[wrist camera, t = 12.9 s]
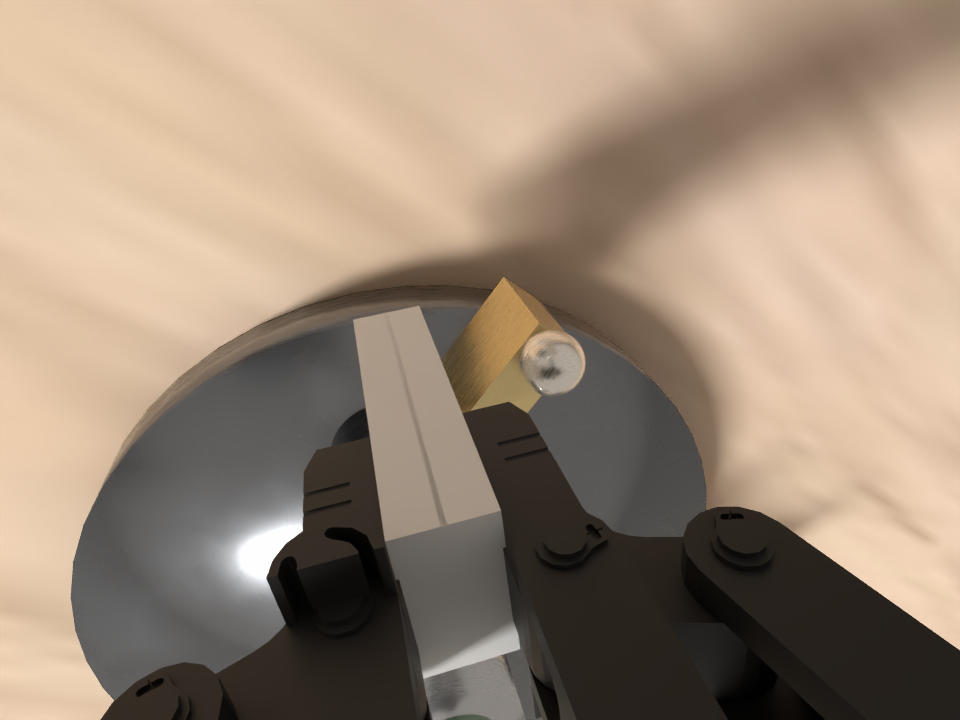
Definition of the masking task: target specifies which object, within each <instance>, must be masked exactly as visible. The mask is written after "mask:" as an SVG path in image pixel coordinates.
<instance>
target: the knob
mask: <svg viewBox="0 0 960 720" xmlns="http://www.w3.org/2000/svg"><path fill="white" fill-rule="evenodd" d="M441 362H442V364H443V367H444V369H445V372H446V374H447V377H448V379H449V382H450V384H451V387H452V389H453V392H454V394H455V397H456V399H457V402H458V404H459V407H460V409H461V412H462V413H464V412H468V411H472V410H476V409H480V408H484V407H489V406H493V405H497V404H501V403H505V402H511V403H512V404H514V405H515V406H517V407H518V408H520V409H522V410H523V411H525V412H526V413H528V411H529V410H530V409H531V408H532V407H533V405H534V404H535V403H536V402H537V401H538V399H539V398H540V397H541V396H542V395H543V396H549V397H554V396H561V395H564V394H566V393H568V392H570V391H571V390H573V389H574V388H575V387H576V386H577V385H578V384H579V382H580V381H581V379H582V377H583V375H584V372H585V366H586V361H585V355H584V352H583V349H582V347H581V346H580V344H579V343H578V341H577V340H576V339H575V338H573V337H572V336H571V335H569V334H567V333H566V332H565V331H564V330H563V329H562V328H561V326H560V325H559V324H558V323H557V322H556V320H555V319H554V318H553V317H552V316H551V314H550V313H549V312H548V311H547V310H546V309H545V307H544V306H543V305H542V304H541V303H540V301H539V300H537V299H536V298H534V297H533V296H531V295H530V294H528V293H527V292H525V291H524V290H522V289H521V288H519V287H518V286H516V285H515V284H513V283H512V282H511V281H509V280H508V279H506V278H505V277H503V278H502V280H501V281H500V282H499V284H498V285H497V286H496V288H495V289H494V290H493V292H492V293H491V294H490V296H489V297H488V298H487V300H486V301H485V302H484V304H483V305H482V306H481V308H480V309H479V310H478V312H477V313H476V314H475V316H474V317H473V318H472V320H471V321H470V322H469V324H468V325H467V326H466V328H465V329H464V330H463V332H462V333H461V334H460V336H459V337H458V338H457V340H456V341H455V342H454V344H453V345H452V346H451V348H450V349H449V350H448V352H447V353H446V354H445V356H444V357H443V358H442V360H441ZM368 437H370V434H369V427H368V420H367V413H366V408H364V409H361V410H360V411H358V412H356V413H355V414H353V415H352V416H350V417H349V418H348V419H347V420H346V421H345V422H344V423H343V424H342V425H341V426H340V428H339V429H338V431H337V432H336V434H335V436H334V439H333V442H332V445H331V446H335V445H339V444H343V443H347V442H352V441H356V440H360V439H364V438H368Z"/></svg>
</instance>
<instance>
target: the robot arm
mask: <svg viewBox="0 0 960 720" xmlns="http://www.w3.org/2000/svg"><path fill="white" fill-rule="evenodd" d="M353 322H354V329H355V336H356V343H357V350H358V357H359V364H360V371H361V378H362V385H363V392H364V399H365V406H366V413H367V420H368V427H369V434H370V437H368V438H364V439H360V440H356V441H352V442H347V443H343V444H339V445H335V446H331V447H327V448H323V449H318V450H316V451H315V453H314V455H313V457H312V458H311V460H310V462H309V463H308V465H307V467H306V469H305V470H304V482H303V494H304V498H303V514H304V517H303V531H302V532H300V533H299V534H298V535H296V536H295V537H293V538H292V539H291V540H289V541H288V542H287V543H285V544H284V546H283V547H282V548H281V549H280V551H279V552H278V553H277V555H276V556H275V557H274V558H273V560H272V562H271V565H270V568H269V571H268V574H267V577H266V579H267V582H268V584H269V586H270V589H271V591H272V593H273V596H274V598H275V600H276V602H277V605H278V607H279V609H280V612H281V614H282V616H283V619H284V621H285V623H286V624H285V625H284V627H283V628H282V629H281V630H280V631H279V632H278V633H277V634H276V635H275V636H274V637H273V638H272V639H271V640H270V641H268V642H267V643H265V644H264V645H263V646H261V647H260V648H258V649H257V650H255V651H254V652H252V653H251V654H249V655H247V656H246V657H244V658H242V659H240V660H239V661H237V662H235V663H234V664H232V665H230V666H228V667H227V668H225V669H223V670H221V671H220V672H218V673H216V674H215V673H214V672H213V671H211V670H210V669H209V668H207V667H206V666H205V665H203V664H195V663H187V662H183V663H179V664H175V665H171V666H167V667H163V668H160V669H158V670H156V671H154V672H152V673H151V674H149V675H147V676H145V677H143V678H142V679H140V680H138V681H136V682H135V683H134V684H133V685H132V686H131V687H129V688H128V689H127V690H126V691H125V692H124V693H123V694H122V695H120V696H119V697H118V698H117V699H116V700H115V701H114V702H113V703H112V704H111V706H110V707H109V709H108V710H107V711H106V713H105V714H104V716H103V717H102V719H101V720H433V718H432V715H431V711H430V707H429V704H428V700H427V696H426V691H425V685H424V678H428V677H431V676H434V675H437V674H441V673H444V672H447V671H450V670H454V669H457V668H460V667H463V666H467V665H471V664H474V663H477V662H480V661H484V660H487V659H490V658H493V657H497V656H500V655H503V654H506V653H510V652H513V651H516V650H519V649H520V644H519V638H520V641H521V644H522V647H523V650H524V653H525V656H526V659H527V662H528V664H529V670H530V678H531V686H532V693H533V701H534V709H535V717H536V719H537V718H540V717H542V719H543V720H960V650H958V649H957V648H956V647H954V646H953V645H951V644H950V643H949V642H947V641H946V640H944V639H943V638H941V637H940V636H939V635H937V634H936V633H934V632H933V631H932V630H930V629H929V628H927V627H926V626H925V625H923V624H922V623H920V622H919V621H918V620H916V619H915V618H913V617H912V616H911V615H909V614H908V613H906V612H905V611H903V610H902V609H901V608H899V607H898V606H896V605H895V604H894V603H892V602H891V601H889V600H888V599H887V598H885V597H884V596H882V595H881V594H880V593H878V592H877V591H875V590H874V589H872V588H871V587H870V586H868V585H867V584H865V583H864V582H863V581H861V580H860V579H858V578H857V577H856V576H854V575H853V574H851V573H850V572H849V571H847V570H846V569H844V568H843V567H841V566H840V565H839V564H837V563H836V562H834V561H833V560H832V559H830V558H829V557H827V556H826V555H825V554H823V553H822V552H820V551H819V550H818V549H816V548H815V547H813V546H812V545H811V544H809V543H808V542H806V541H805V540H803V539H802V538H801V537H799V536H798V535H796V534H795V533H794V532H792V531H791V530H789V529H788V528H787V527H785V526H784V525H782V524H781V523H779V522H778V521H776V520H774V519H772V518H770V517H768V516H766V515H764V514H762V513H761V512H757V511H753V510H749V509H745V508H741V507H716V508H713V509H710V510H707V511H704V512H700V513H699V514H698V515H697V516H695V517H694V518H693V519H692V520H691V521H690V522H689V523H688V524H687V527H686V530H685V533H684V536H683V537H639V536H629V535H625V534H621V533H618V532H614V531H612V530H611V529H610V528H609V527H608V526H607V525H606V524H605V522H604V521H603V520H601V519H599V518H597V517H595V516H593V515H591V514H589V513H587V512H586V511H585V510H584V508H583V507H582V505H581V504H580V502H579V500H578V498H577V497H576V495H575V493H574V492H573V490H572V488H571V486H570V485H569V483H568V481H567V479H566V478H565V476H564V474H563V472H562V471H561V469H560V467H559V466H558V464H557V462H556V460H555V459H554V457H553V455H552V453H551V452H550V451H549V450H548V446H547V445H546V443H545V441H544V439H543V438H542V436H540V433H539V431H538V429H537V427H536V426H535V424H534V422H533V420H532V419H531V417H530V415H529V414H528V413H526V412H525V411H523V410H522V409H520V408H518V407H517V406H515V405H514V404H512V403H511V402H505V403H501V404H497V405H493V406H489V407H484V408H480V409H476V410H472V411H468V412H464V413H462V412H461V409H460V407H459V404H458V402H457V399H456V397H455V394H454V392H453V389H452V387H451V384H450V382H449V379H448V377H447V374H446V372H445V369H444V367H443V364H442V362H441V359H440V357H439V354H438V352H437V349H436V347H435V344H434V342H433V339H432V337H431V334H430V332H429V329H428V327H427V324H426V322H425V319H424V317H423V314H422V312H421V309H420V307H419V306H415V307H411V308H406V309H401V310H397V311H392V312H387V313H382V314H377V315H373V316H368V317H363V318H358V319H354V320H353ZM518 636H519V637H518Z"/></svg>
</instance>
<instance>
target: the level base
mask: <svg viewBox="0 0 960 720" xmlns="http://www.w3.org/2000/svg"><path fill="white" fill-rule="evenodd" d="M492 292H493V290H486V289H476V288H467V287H457V286H447V285H446V286H405V287H394V288H387V289H380V290H374V291H367V292H360V293H353V294H349V295H345V296H342V297H338V298H334V299H331V300H327V301H324V302H320V303H316V304H313V305H309V306H305V307H303V308H300V309H298V310H295V311H293V312H290V313H288V314H285V315H283V316H281V317H278V318H276V319H273V320H271V321H268V322H266V323H264V324H261V325H259V326H257V327H255V328H253V329H252V330H250V331H248V332H246V333H245V334H243V335H241V336H239V337H238V338H236V339H234V340H232V341H230V342H229V343H227V344H225V345H223V346H222V347H220V348H218V349H216V350H215V351H214V352H212V353H211V354H210V355H208V356H207V357H206V358H204V359H203V360H202V361H201V362H199V363H198V364H197V365H195V366H194V367H193V368H191V369H190V370H189V371H187V372H186V373H185V374H183V375H182V376H181V377H179V378H178V379H177V380H176V381H175V382H174V383H173V384H172V385H171V386H170V387H169V388H168V389H167V390H166V391H165V392H164V393H163V394H162V395H161V396H160V397H159V399H158V400H157V401H156V402H155V403H154V404H153V405H152V406H151V407H150V408H149V409H148V410H147V411H146V412H145V414H144V415H143V417H142V418H141V419H140V421H139V422H138V423H137V425H136V426H135V428H134V429H133V430H132V432H131V433H130V435H129V436H128V437H127V439H126V440H125V441H124V443H123V445H122V447H121V449H120V451H119V453H118V455H117V457H116V459H115V461H114V463H113V465H112V467H111V469H110V471H109V473H108V475H107V477H106V479H105V481H104V483H103V485H102V487H101V490H100V492H99V494H98V496H97V498H96V500H95V502H94V504H93V506H92V508H91V511H90V513H89V515H88V517H87V519H86V521H85V523H84V526H83V529H82V533H81V536H80V540H79V543H78V547H77V551H76V554H75V558H74V561H73V574H72V588H71V602H72V609H73V616H74V623H75V630H76V633H77V636H78V639H79V641H80V644H81V647H82V650H83V652H84V655H85V658H86V661H87V662H88V664H89V666H90V667H91V669H92V671H93V672H94V674H95V675H96V677H97V679H98V680H99V682H100V684H101V685H102V687H103V688H104V690H105V691H106V692H107V693H108V694H109V695H110V696H111V697H112V698H113V700H114V701H115V700H116V699H117V698H118V697H119V696H120V695H122V694H123V693H124V692H125V691H126V690H127V689H128V688H129V687H131V686H132V685H133V684H134V683H135V682H136V681H138V680H140V679H142V678H143V677H145V676H147V675H149V674H151V673H152V672H154V671H156V670H158V669H160V668H163V667H167V666H171V665H175V664H179V663H183V662H187V663H195V664H203V665H205V666H206V667H207V668H209V669H210V670H211V671H213V672H214V673H215V674H216V673H218V672H220V671H221V670H223V669H225V668H227V667H228V666H230V665H232V664H234V663H235V662H237V661H239V660H240V659H242V658H244V657H246V656H247V655H249V654H251V653H252V652H254V651H255V650H257V649H258V648H260V647H261V646H263V645H264V644H265V643H267V642H268V641H270V640H271V639H272V638H273V637H274V636H275V635H276V634H277V633H278V632H279V631H280V630H281V629H282V628H283V627H284V625H285V624H286V623H285V621H284V619H283V616H282V614H281V612H280V609H279V607H278V605H277V602H276V600H275V598H274V596H273V593H272V591H271V589H270V586H269V584H268V582H267V579H266V577H267V574H268V571H269V568H270V565H271V562H272V560H273V558H274V557H275V556H276V555H277V553H278V552H279V551H280V549H281V548H282V547H283V546H284V544H285V543H287V542H288V541H289V540H291V539H292V538H293V537H295V536H296V535H298V534H299V533H300V532H302V531H303V517H304V514H303V498H304V494H303V482H304V470H305V469H306V467H307V465H308V463H309V462H310V460H311V458H312V457H313V455H314V453H315V451H316V450H318V449H323V448H327V447H331V445H332V442H333V439H334V436H335V434H336V432H337V431H338V429H339V428H340V426H341V425H342V424H343V423H344V422H345V421H346V420H347V419H348V418H349V417H350V416H352V415H353V414H355V413H356V412H358V411H360V410H361V409H364V408H366V406H365V399H364V392H363V385H362V378H361V371H360V364H359V357H358V350H357V343H356V336H355V329H354V322H353V320H354V319H358V318H363V317H368V316H373V315H377V314H382V313H387V312H392V311H397V310H401V309H406V308H411V307H415V306H419V307H420V309H421V312H422V314H423V317H424V319H425V322H426V324H427V327H428V329H429V332H430V334H431V337H432V339H433V342H434V344H435V347H436V349H437V352H438V354H439V357H440V359H441V360H442V358H443V357H444V356H445V354H446V353H447V352H448V350H449V349H450V348H451V346H452V345H453V344H454V342H455V341H456V340H457V338H458V337H459V336H460V334H461V333H462V332H463V330H464V329H465V328H466V326H467V325H468V324H469V322H470V321H471V320H472V318H473V317H474V316H475V314H476V313H477V312H478V310H479V309H480V308H481V306H482V305H483V304H484V302H485V301H486V300H487V298H488V297H489V296H490V294H491V293H492ZM541 304H542V303H541ZM542 305H543V306H544V307H545V309H546V310H547V311H548V312H549V313H550V314H551V316H552V317H553V318H554V319H555V320H556V322H557V323H558V324H559V325H560V326H561V328H562V329H563V330H564V331H565V332H566V333H567V334H569V335H571V336H572V337H573V338H575V339H576V340H577V341H578V343H579V344H580V346H581V347H582V349H583V352H584V355H585V361H586V366H585V372H584V375H583V377H582V379H581V381H580V382H579V384H578V385H577V386H576V387H575V388H574V389H573V390H571V391H570V392H568V393H566V394H564V395H561V396H554V397H549V396H543V395H542V396H541V397H540V398H539V399H538V401H537V402H536V403H535V404H534V405H533V407H532V408H531V409H530V410H529V411H528V414H529V415H530V417H531V419H532V420H533V422H534V424H535V426H536V427H537V429H538V431H539V433H540V436H542V438H543V439H544V441H545V443H546V445H547V446H548V450H549V451H550V452H551V453H552V455H553V457H554V459H555V460H556V462H557V464H558V466H559V467H560V469H561V471H562V472H563V474H564V476H565V478H566V479H567V481H568V483H569V485H570V486H571V488H572V490H573V492H574V493H575V495H576V497H577V498H578V500H579V502H580V504H581V505H582V507H583V508H584V510H585V511H586V512H587V513H589V514H591V515H593V516H595V517H597V518H599V519H601V520H603V521H604V522H605V524H606V525H607V526H608V527H609V528H610V529H611V530H612V531H614V532H618V533H621V534H625V535H629V536H639V537H683V536H684V533H685V530H686V527H687V524H688V523H689V522H690V521H691V520H692V519H693V518H694V517H695V516H697V515H698V514H699V513H700V512H704V511H706V484H705V479H704V473H703V467H702V461H701V458H700V455H699V452H698V450H697V447H696V444H695V442H694V439H693V436H692V433H691V432H690V430H689V428H688V427H687V425H686V423H685V422H684V420H683V418H682V416H681V415H680V413H679V411H678V410H677V408H676V407H675V405H674V404H673V403H672V402H671V401H670V400H669V399H668V397H667V396H666V395H665V394H664V393H663V392H662V391H661V389H660V388H659V387H658V386H657V385H656V384H655V383H654V382H653V381H652V379H651V378H650V377H649V376H648V375H647V374H646V373H645V372H644V371H643V370H642V369H641V368H640V367H639V366H638V365H637V364H636V363H635V362H634V361H633V360H632V359H631V358H630V357H629V356H628V355H627V354H626V353H625V352H624V351H623V350H621V349H620V348H619V347H618V346H616V345H615V344H614V343H613V342H611V341H610V340H609V339H608V338H607V337H605V336H604V335H603V334H602V333H600V332H599V331H597V330H595V329H594V328H592V327H590V326H588V325H587V324H585V323H583V322H582V321H580V320H578V319H576V318H575V317H573V316H571V315H569V314H567V313H565V312H562V311H560V310H557V309H554V308H552V307H549V306H547V305H544V304H542ZM518 637H519V636H518ZM519 644H520V649H519V650H516V651H513V652H510V653H506V654H503V655H500V656H497V657H493V658H490V659H487V660H484V661H480V662H477V663H474V664H471V665H467V666H463V667H460V668H457V669H454V670H450V671H447V672H444V673H441V674H437V675H434V676H431V677H428V678H424V685H425V691H426V696H427V700H428V704H429V707H430V711H431V715H432V718H433V720H543V719H542V717H540V718H537V719H536V717H535V709H534V701H533V693H532V686H531V678H530V670H529V664H528V662H527V659H526V656H525V653H524V650H523V647H522V644H521V641H520V638H519Z"/></svg>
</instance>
